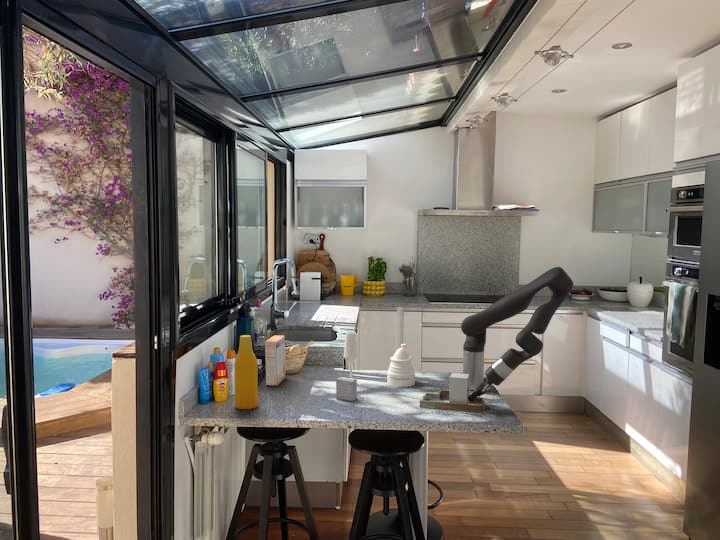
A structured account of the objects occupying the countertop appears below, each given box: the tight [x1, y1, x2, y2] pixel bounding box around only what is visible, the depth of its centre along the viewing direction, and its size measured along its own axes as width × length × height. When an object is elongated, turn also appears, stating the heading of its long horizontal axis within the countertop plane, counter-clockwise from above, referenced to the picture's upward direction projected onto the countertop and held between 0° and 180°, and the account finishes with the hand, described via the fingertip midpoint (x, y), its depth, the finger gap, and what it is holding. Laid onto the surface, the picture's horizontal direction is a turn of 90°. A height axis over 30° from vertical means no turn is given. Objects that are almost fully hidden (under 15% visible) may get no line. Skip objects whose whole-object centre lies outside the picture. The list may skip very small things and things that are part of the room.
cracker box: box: [264, 334, 286, 387], centre depth 261 cm, size 14×6×21 cm, turn 172°
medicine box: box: [335, 376, 358, 402], centre depth 236 cm, size 8×4×9 cm, turn 65°
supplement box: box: [448, 372, 470, 405], centre depth 226 cm, size 7×7×13 cm
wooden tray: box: [419, 389, 486, 414], centre depth 230 cm, size 17×25×2 cm
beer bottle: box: [233, 334, 259, 410], centre depth 225 cm, size 9×9×29 cm
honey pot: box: [386, 343, 416, 388], centre depth 259 cm, size 13×13×18 cm
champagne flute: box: [343, 331, 359, 386], centre depth 257 cm, size 7×7×24 cm
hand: (469, 399), depth 225 cm, fingers closed
